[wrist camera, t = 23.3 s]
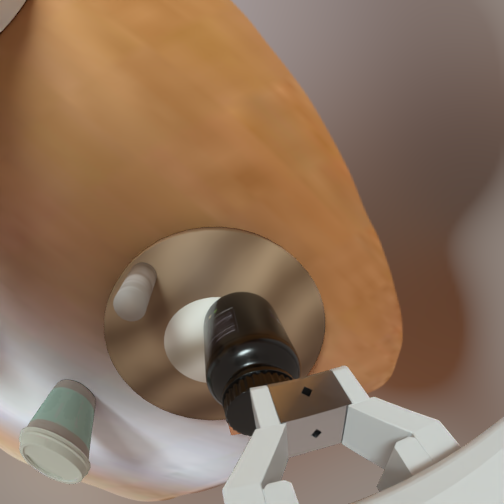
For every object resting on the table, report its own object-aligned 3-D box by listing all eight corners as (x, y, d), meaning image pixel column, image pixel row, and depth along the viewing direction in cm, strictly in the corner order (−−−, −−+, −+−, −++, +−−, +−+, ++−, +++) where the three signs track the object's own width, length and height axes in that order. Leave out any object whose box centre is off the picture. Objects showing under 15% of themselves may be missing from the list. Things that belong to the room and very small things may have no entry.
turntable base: (109, 259, 27) (99, 272, 24) (292, 232, 30) (304, 241, 26) (164, 422, 34) (163, 442, 31) (300, 400, 36) (308, 419, 33)
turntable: (69, 325, 27) (42, 367, 20) (226, 175, 26) (236, 179, 18) (211, 433, 34) (216, 479, 27) (353, 331, 33) (386, 369, 26)
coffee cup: (36, 371, 29) (1, 435, 18) (89, 369, 30) (60, 443, 19) (64, 418, 32) (42, 481, 20) (115, 417, 33) (101, 489, 21)
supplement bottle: (289, 310, 28) (340, 393, 17) (248, 362, 29) (274, 455, 18) (229, 274, 26) (252, 355, 15) (188, 332, 27) (187, 429, 16)
